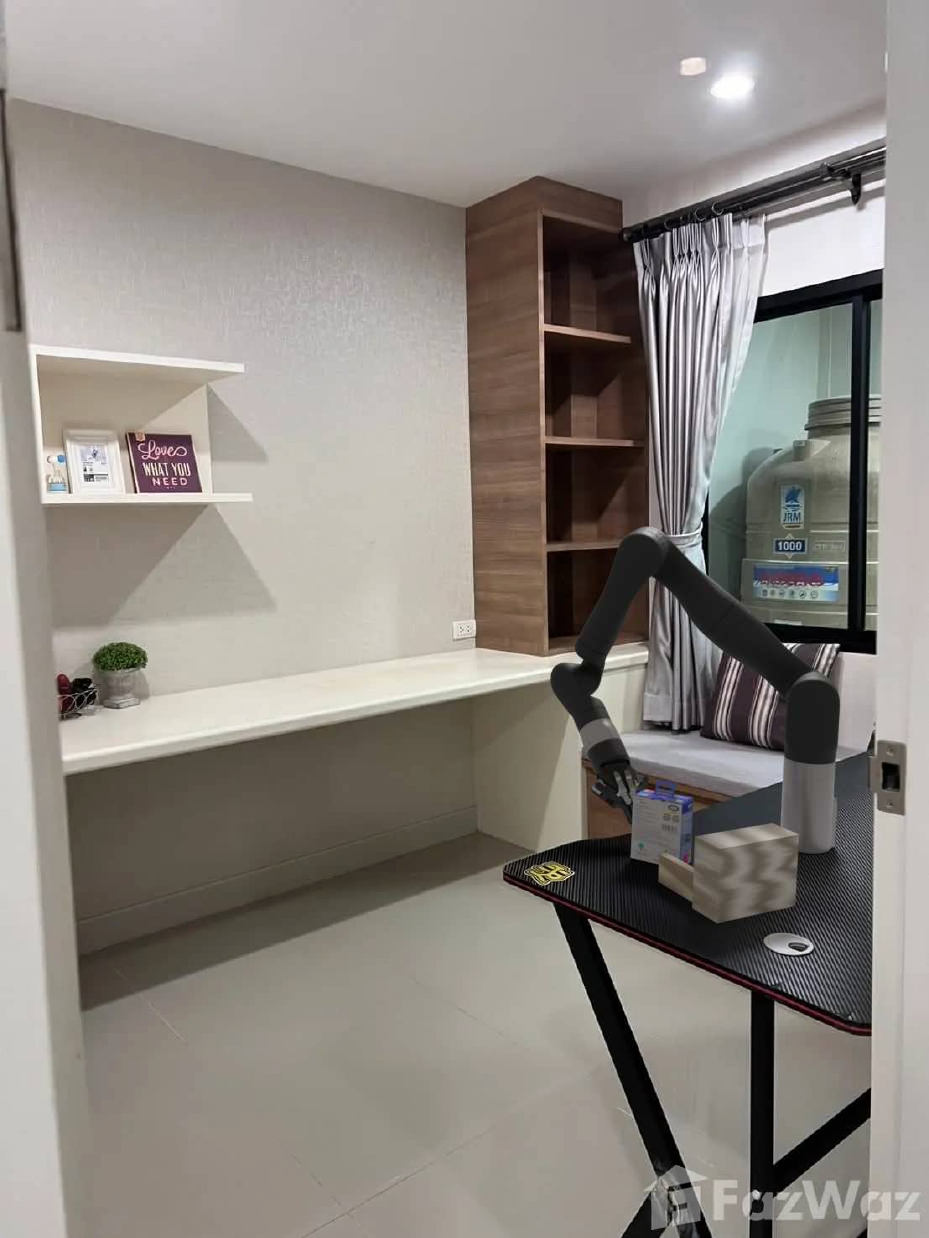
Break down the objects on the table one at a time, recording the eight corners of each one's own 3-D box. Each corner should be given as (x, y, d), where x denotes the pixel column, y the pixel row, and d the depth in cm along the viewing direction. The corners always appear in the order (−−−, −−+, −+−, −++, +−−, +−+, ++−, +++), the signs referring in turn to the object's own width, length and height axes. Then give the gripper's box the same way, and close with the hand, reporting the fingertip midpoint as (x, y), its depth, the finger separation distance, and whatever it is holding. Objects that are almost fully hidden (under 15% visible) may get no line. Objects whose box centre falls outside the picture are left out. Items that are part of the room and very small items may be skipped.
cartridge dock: (724, 868, 166) (727, 803, 164) (795, 905, 150) (798, 834, 149) (651, 883, 159) (653, 815, 157) (717, 923, 144) (720, 848, 142)
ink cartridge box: (692, 861, 169) (695, 784, 167) (680, 871, 164) (683, 792, 163) (642, 850, 175) (645, 775, 173) (629, 858, 170) (632, 782, 168)
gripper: (583, 739, 180) (617, 819, 170) (639, 733, 185) (675, 810, 176) (568, 759, 185) (600, 838, 176) (623, 753, 191) (657, 828, 181)
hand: (637, 824), depth 176 cm, fingers closed
